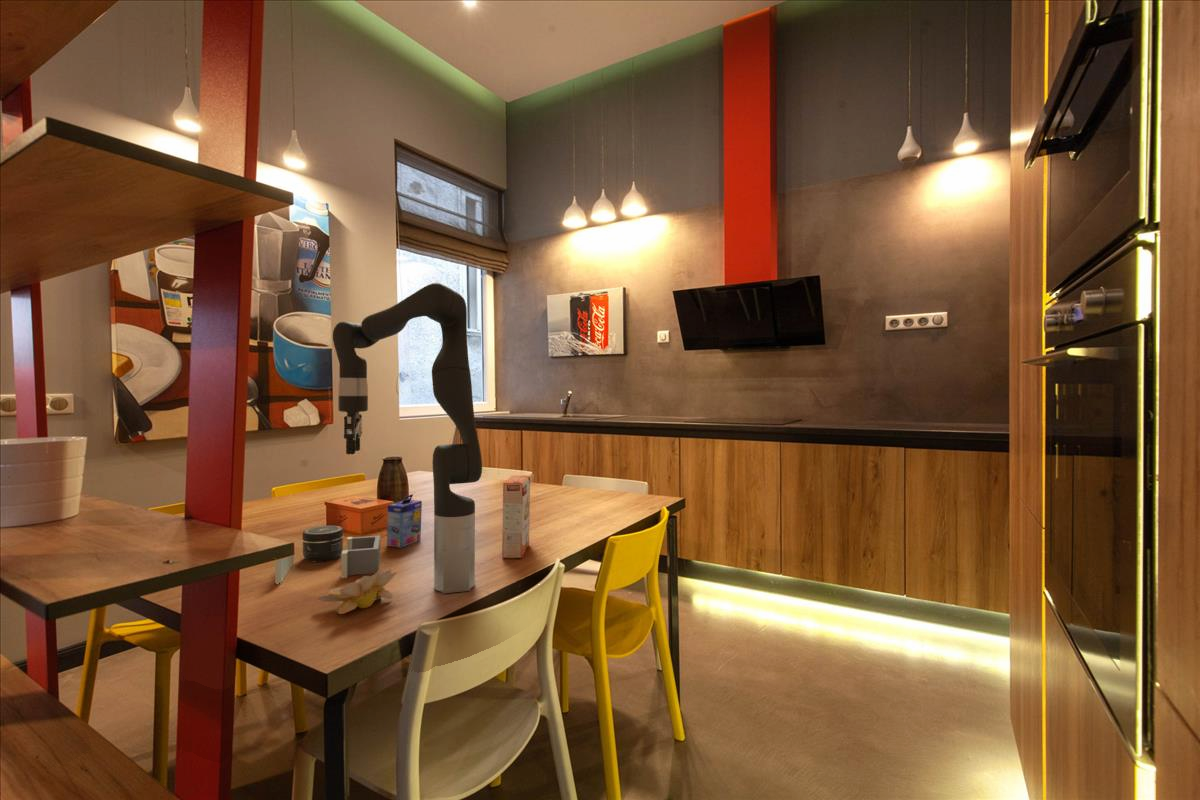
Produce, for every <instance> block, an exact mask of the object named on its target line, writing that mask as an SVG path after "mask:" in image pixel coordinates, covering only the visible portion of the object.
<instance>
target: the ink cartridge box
mask: <svg viewBox="0 0 1200 800" xmlns="http://www.w3.org/2000/svg"><path fill="white" fill-rule="evenodd" d="M413 496H414V494H413V493H412V494H409V495H406V496H405V497H403V500H400V501H398V502H397V501H396V502H394V503H391V504H388V505H387V522H386V523H387V531H386V532H387V533H386V534H387V535H386V546H387V547H392V548H393V547H394V548H398V549H402V548H404V547H407V546H409V545H411V544H414V543H417V542H420V541H421V538H422V537H421V535H422V511H423V510H422V506H423V505H422V502H423V501H422V500H419V499H418V500H417V499H413Z"/></svg>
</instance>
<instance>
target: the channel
mask: <svg viewBox="0 0 1200 800" xmlns="http://www.w3.org/2000/svg"><path fill="white" fill-rule="evenodd" d="M294 555H295V554H294ZM294 555H293V556H291V557H287V558H284V559H280V560H277V561H275V560H274V583H276V584H277V583H281V582H282V581H284V580H285V579H284V577H285V575H286V574H287V572H288V570H289V568H290V566H291V564H292V563H293V561H295V559H294V558H295V556H294ZM380 563H381V535H369V536H368V535H367V536H356V537H353V536H347V538H346V549H345V550H344V549H343V550H342V554H341V579H347V578H348V577H349V576H356V574H358V575H367V573H369V574H375V573H376V572H378V570H380ZM288 573H289V572H288ZM287 575H288V574H287ZM287 575H286V576H287ZM285 578H286V577H285ZM283 579H284V580H283ZM282 583H283V582H282ZM282 583H281V584H282ZM277 585H278V584H277Z"/></svg>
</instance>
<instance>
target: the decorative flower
mask: <svg viewBox="0 0 1200 800" xmlns="http://www.w3.org/2000/svg"><path fill="white" fill-rule="evenodd" d="M391 572H392V570H391V569H390V570H386V571H384V569H379V571H378V572H376V573H373V574H372V575H371V576H369V575H364V576H361V578H358V579H356V580H355V581H354V582H349V583H347V584H345V585H344V586H343V587H339V588H338V587H337V588H333V589H330V590H329V591H330V592H327V593H326V594H327V595H321V596H318V598H317V601H319V602H320V601H322V602H328V603H329V602H330V603H332V602H342V603H341V604H339V606H338V607H337V608H336V610H334V613H336V614H339V615H344V614H346V613H349V612H351V611H353V610H355V609H356V608H359V609H367V608H369V607H371V606H372V605H373V604H374V602H375V600H380V599H382V598H384V599H386V600H390V599H392V598H393V596H394V594H393V592H391V591H389V590H386V587H385V586H386V585H387V584H388V583H389V582H390V581H391V580H393V578H394V576H395V575H396V574H397V572H398V571H396V572H392V573H391Z"/></svg>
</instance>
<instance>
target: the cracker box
mask: <svg viewBox="0 0 1200 800" xmlns="http://www.w3.org/2000/svg"><path fill="white" fill-rule="evenodd" d="M530 505H531V475H521V474H519V475H518V474H517V475H516V474H515V475H513V474H512V475H510V477H508V478H507V479H506V480H505V481H504V482H503V483H502V533H501V535H502V541H501V543H502V544H501V545H502V546H501V548H502V549H501V558H502V559H515V558H522V559H523V558H524V556H525V553H526V551H527V550H528V548H529V546H530V524H531V523H530V519H531V518H530V515H531V512H530V510H531V506H530ZM528 545H529V546H528ZM527 547H528V548H527ZM526 549H527V550H526Z"/></svg>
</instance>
